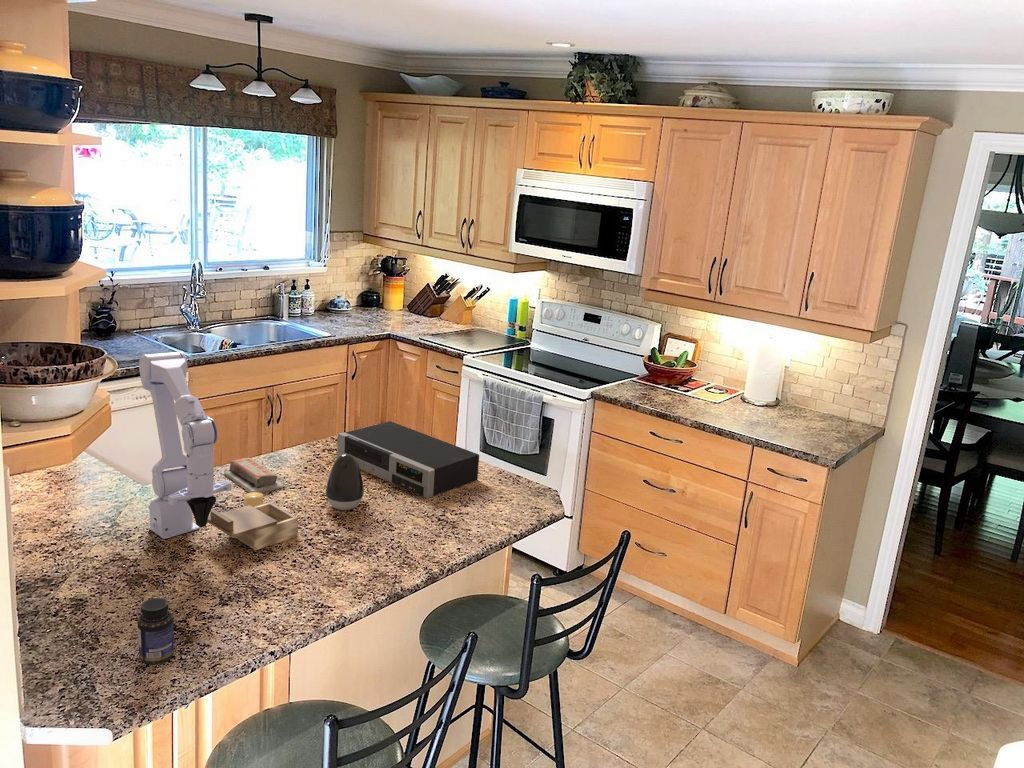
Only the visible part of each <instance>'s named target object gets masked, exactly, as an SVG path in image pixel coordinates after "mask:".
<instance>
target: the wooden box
mask: <svg viewBox="0 0 1024 768" xmlns="http://www.w3.org/2000/svg"><path fill="white" fill-rule="evenodd" d="M254 508H256V509H258V510H259V511H261V512H263V513H264V514H266V515H268V516H270V517H271V518H273V519H275V520H276V521H277V524H276V525H272V526H269V527H266V528H263V529H260V530H257V531H253V532H250V533H247V534H244V535H241V536H238V537H234V539H237V540H239V541H240V542H242V543H243V544H245V545H247V546H248V547H250V548H252V549H253V550H254V551H259V550H260V549H263V548H267V547H269V546H273V545H275V544H278V543H282V542H284V541H287V540H290V539H293V538H296V537H298V536H299V534H298V533H299V517H298V516H295V515H294V514H292V513H290V512H289V511H287V510H286V509H283V508H281V507H280V506H278V505H276V504H274V503H272V502H270V501H269V502H267V503H263V504H262V505H259V506H256V507H254Z"/></svg>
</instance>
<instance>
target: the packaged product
mask: <svg viewBox="0 0 1024 768" xmlns="http://www.w3.org/2000/svg"><path fill="white" fill-rule="evenodd" d="M223 472H224V476H226V477H227V478H229V479H230V480H231V479H232V480H233V482H234V483H235V484H236V483H237V484H236V485H237V486H239V487H240V486H241V489H243V488H244V489H245V490H244V489H243V490H244V491H246V492H247V491H248V492H247V493H252V492H258V493H261V492H263V493H266V492H265V491H268V492H271V491H270V490H272V491H275V489H276V490H280V489H279V488H281V489H284V488H285V484H283V483H282V482H280V481H279V480H278V476H277V475H276V474H275V473H273V472H272V471H270V470H269V469H268V468H266V467H265V466H264V465H262V464H260V463H259V462H258V461H256V460H255V459H253V458H252V457H248V456H247V457H242V458H236V459H232V460H231V461H230V463H229V469H225V470H224V471H223ZM232 480H231V481H232ZM283 487H284V488H283ZM261 494H262V493H261Z"/></svg>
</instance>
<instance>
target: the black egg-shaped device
mask: <svg viewBox="0 0 1024 768" xmlns="http://www.w3.org/2000/svg"><path fill="white" fill-rule="evenodd" d="M329 471H330V472H329V475H328V476H327V477H328V478H327V481H326V487H325V497H326V498H327V501H328V504H330V506H331V507H333V508H334V509H336V510H340V511H350V510H353V509H355V508H356V507H358V506H359V504H360V503H361V502H362V499H363V497H364V496H365V495H364V494H365V493H364V492H365V489H364V480H363V476H362V472H361V471H362V470H361V469H360V468H359V465H358V463H357V461H356V459H355V458H354V457H353V456H352V455H350V454H342V455H340V456H338V457H337V456H336V459H335V460H334V461H333V464H332V466H331V468H330V470H329Z"/></svg>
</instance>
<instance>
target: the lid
mask: <svg viewBox="0 0 1024 768" xmlns="http://www.w3.org/2000/svg"><path fill="white" fill-rule="evenodd" d="M208 523H209V524H210V525H212V526H213V527H215V528H216V529H218V530H219V531H221V532H223V534H226V535H227V536H228V537H230V538H232V539H235V537H238V536H241V535H244V534H247V533H250V532H253V531H257V530H260V529H263V528H266V527H269V526H272V525H276V524H277V521H276V520H275V519H273V518H271V517H270V516H268V515H266V514H264V513H263V512H261V511H259V510H258V509H256V508H254V507H252V506H251V505H248V506H244V505H243V506H241V507H237V508H234V509H231V510H227V511H224V512H220V511H218V510H217V509H211V511H210V515H209V516H208V520H207V524H208Z"/></svg>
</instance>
